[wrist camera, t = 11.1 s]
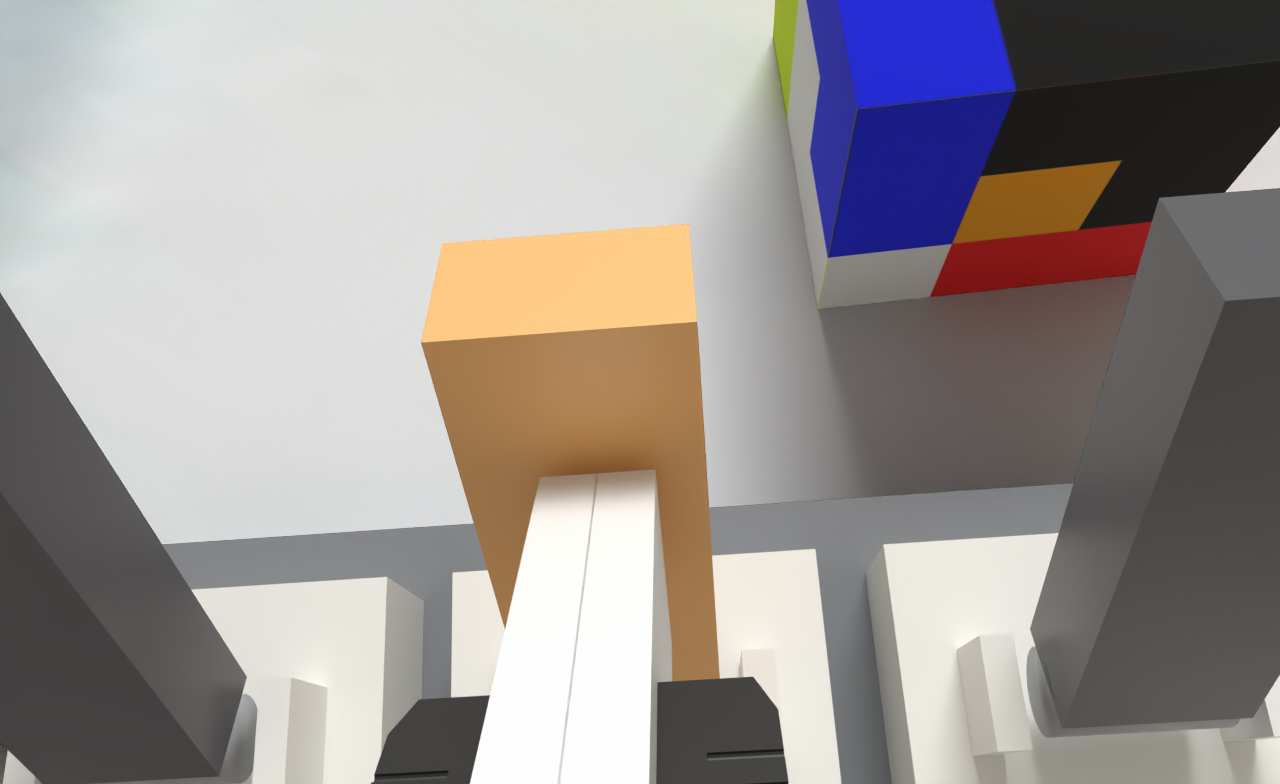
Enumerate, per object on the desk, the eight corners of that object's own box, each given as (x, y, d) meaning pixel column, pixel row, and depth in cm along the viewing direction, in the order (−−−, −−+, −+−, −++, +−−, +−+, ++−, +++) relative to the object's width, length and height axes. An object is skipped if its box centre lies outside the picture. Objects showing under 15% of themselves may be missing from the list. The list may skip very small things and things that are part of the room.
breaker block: (189, 573, 30) (-479, 294, 13) (1127, 511, 29) (1690, 119, 12) (148, 979, 27) (-834, 1293, 10) (1219, 928, 25) (2199, 1189, 9)
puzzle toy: (817, 310, 32) (857, 109, 22) (772, 37, 35) (791, -235, 26) (1157, 273, 31) (1341, 52, 22) (1077, 1, 35) (1207, -288, 26)
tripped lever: (556, 696, 21) (442, 243, 14) (719, 686, 21) (689, 223, 14) (552, 792, 20) (421, 342, 12) (726, 782, 20) (696, 322, 12)
